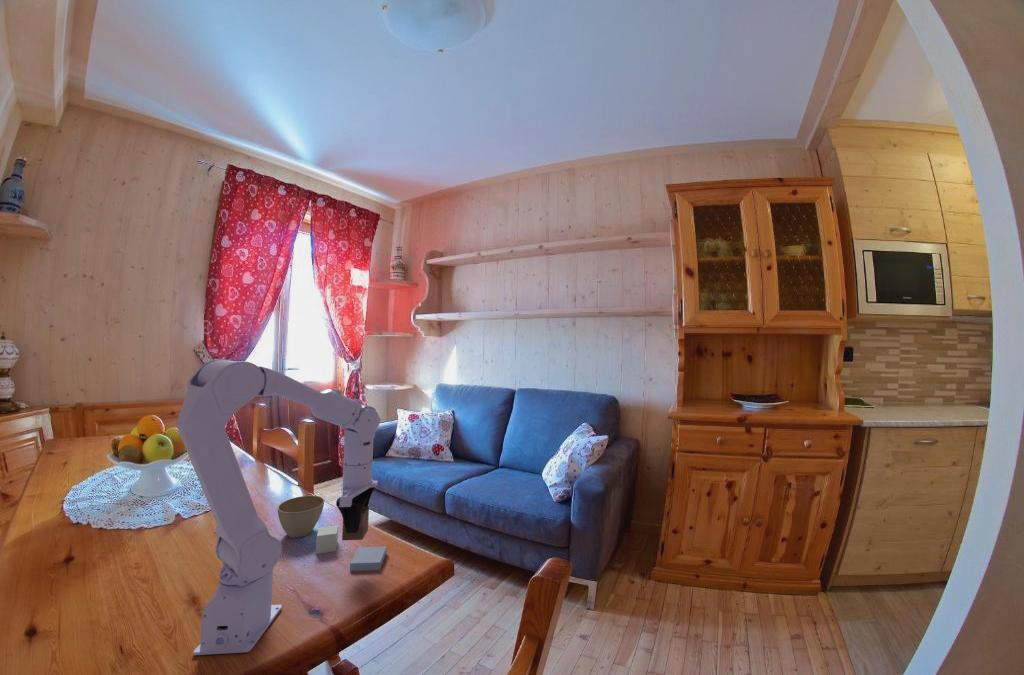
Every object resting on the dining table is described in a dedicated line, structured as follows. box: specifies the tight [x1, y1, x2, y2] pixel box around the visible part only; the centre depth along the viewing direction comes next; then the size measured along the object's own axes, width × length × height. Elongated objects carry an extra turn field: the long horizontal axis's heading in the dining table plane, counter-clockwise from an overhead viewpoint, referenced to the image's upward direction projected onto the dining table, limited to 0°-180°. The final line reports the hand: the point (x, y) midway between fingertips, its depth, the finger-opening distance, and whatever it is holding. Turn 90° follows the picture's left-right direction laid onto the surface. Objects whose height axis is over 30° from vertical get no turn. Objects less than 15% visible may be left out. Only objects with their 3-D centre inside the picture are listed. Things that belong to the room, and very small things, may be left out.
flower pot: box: [277, 495, 325, 539], centre depth 88 cm, size 10×10×7 cm
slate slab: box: [349, 546, 388, 572], centre depth 77 cm, size 6×6×2 cm
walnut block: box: [341, 506, 370, 541], centre depth 75 cm, size 4×4×5 cm
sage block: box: [315, 524, 339, 555], centre depth 82 cm, size 4×4×4 cm
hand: (355, 526), depth 75 cm, fingers closed on walnut block, 4 cm apart
